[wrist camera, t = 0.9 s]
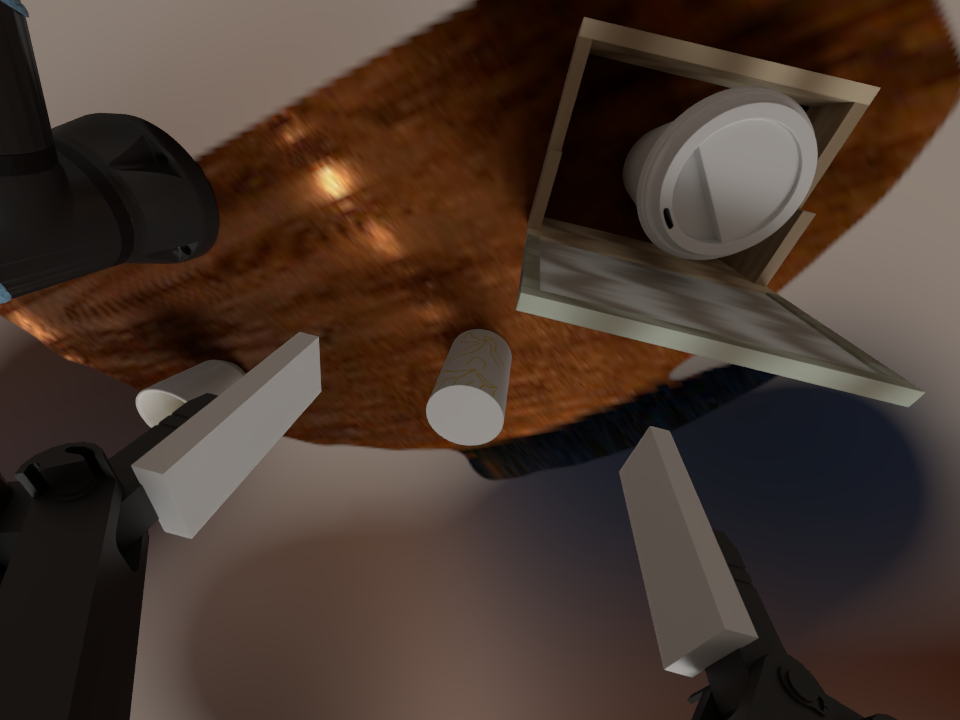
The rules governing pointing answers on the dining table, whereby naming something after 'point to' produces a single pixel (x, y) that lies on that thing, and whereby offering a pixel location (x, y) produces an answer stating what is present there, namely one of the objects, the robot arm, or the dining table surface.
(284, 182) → the dining table surface
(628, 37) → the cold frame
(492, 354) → the white cylinder
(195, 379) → the mug
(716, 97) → the coffee cup
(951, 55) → the dining table surface
